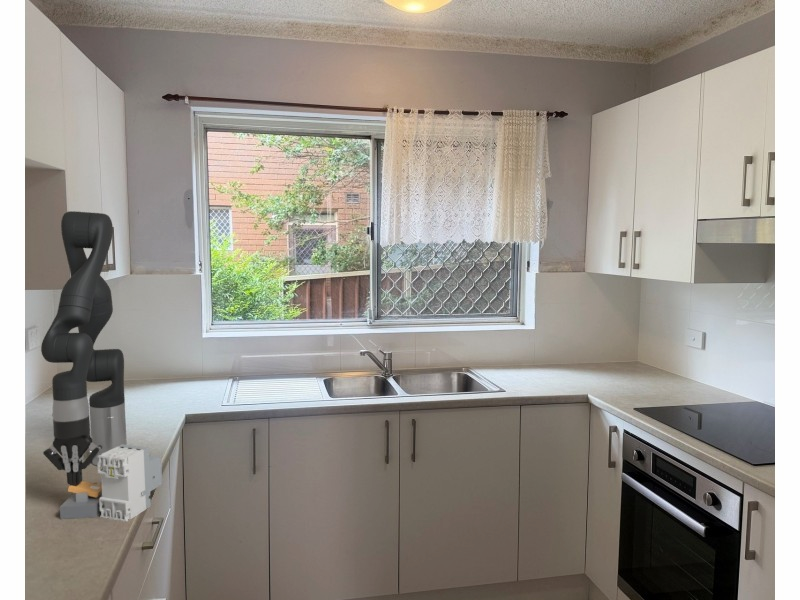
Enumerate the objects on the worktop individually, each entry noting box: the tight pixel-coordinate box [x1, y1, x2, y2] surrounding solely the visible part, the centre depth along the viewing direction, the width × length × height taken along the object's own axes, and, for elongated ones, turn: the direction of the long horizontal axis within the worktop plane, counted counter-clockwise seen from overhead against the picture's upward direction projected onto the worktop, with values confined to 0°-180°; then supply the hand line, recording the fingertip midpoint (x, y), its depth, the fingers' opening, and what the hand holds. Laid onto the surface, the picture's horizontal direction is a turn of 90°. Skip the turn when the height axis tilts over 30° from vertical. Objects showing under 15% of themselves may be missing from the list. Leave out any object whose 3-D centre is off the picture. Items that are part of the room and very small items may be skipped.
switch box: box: [59, 482, 104, 520], centre depth 139 cm, size 10×8×5 cm
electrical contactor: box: [96, 444, 163, 523], centre depth 140 cm, size 8×14×15 cm, turn 164°
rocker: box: [67, 480, 102, 497], centre depth 138 cm, size 4×7×2 cm, turn 97°
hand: (74, 485), depth 138 cm, fingers closed
